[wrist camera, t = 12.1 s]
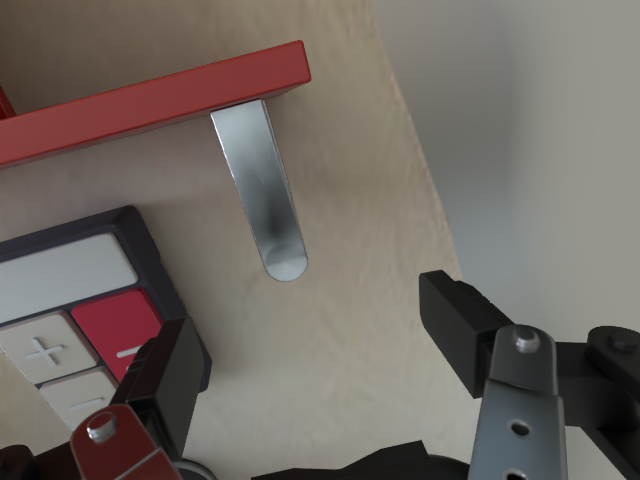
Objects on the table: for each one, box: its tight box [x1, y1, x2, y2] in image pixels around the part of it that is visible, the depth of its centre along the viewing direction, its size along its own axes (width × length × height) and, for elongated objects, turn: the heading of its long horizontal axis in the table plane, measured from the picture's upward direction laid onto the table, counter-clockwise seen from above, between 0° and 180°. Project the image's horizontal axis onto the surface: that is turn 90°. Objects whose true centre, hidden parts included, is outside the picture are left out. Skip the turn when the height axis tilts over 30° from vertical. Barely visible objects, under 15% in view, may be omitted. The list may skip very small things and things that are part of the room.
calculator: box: [0, 205, 212, 431], centre depth 26 cm, size 11×4×15 cm
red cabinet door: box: [0, 40, 311, 282], centre depth 16 cm, size 7×16×17 cm, turn 104°
